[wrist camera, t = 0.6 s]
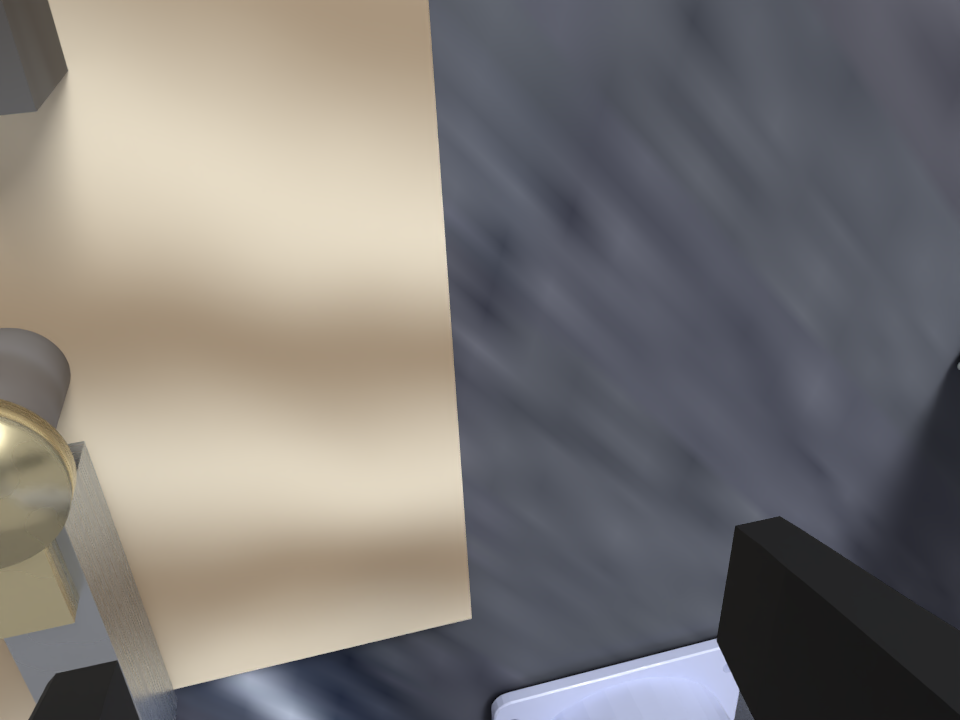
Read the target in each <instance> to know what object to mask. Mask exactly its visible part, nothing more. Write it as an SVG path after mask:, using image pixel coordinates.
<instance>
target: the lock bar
mask: <svg viewBox="0 0 960 720" xmlns="http://www.w3.org/2000/svg"><path fill="white" fill-rule="evenodd" d="M0 639H4V641H5V643H6V645H7V647H8V649H9V651H10V653H11V655H12V657H13V659H14V661H15V663H16V665H17V667H18V669H19V671H20V673H21V675H22V677H23V679H24V681H25V683H26V685H27V687H28V689H29V691H30V693H31V695H32V697H33V699H34V701H35V703H36V704H37V702H38V700H39V699H40V697H41V695H42V693H43V691H44V689H45V687H46V685H47V683H48V682H49V681H50V680H51V679H52V677H53V676H54V675H55V674H56V673H60V672H65V671H69V670H74V669H79V668H83V667H88V666H92V665H97V664H102V663H106V662H111V661H115V660H118V663H119V665H120V668H121V671H122V673H123V676H124V679H125V682H126V684H127V687H128V690H129V692H130V695H131V698H132V700H133V703H134V706H135V708H136V711H137V714H138V716H139V719H140V720H176V711H177V697H176V694H175V692H174V689H173V686H172V683H171V680H170V678H169V675H168V672H167V669H166V667H165V664H164V661H163V658H162V655H161V653H160V650H159V647H158V644H157V641H156V639H155V636H154V633H153V630H152V628H151V625H150V622H149V619H148V616H147V614H146V611H145V608H144V605H143V602H142V600H141V597H140V594H139V591H138V589H137V586H136V583H135V580H134V577H133V575H132V572H131V569H130V566H129V564H128V561H127V558H126V555H125V552H124V550H123V547H122V544H121V541H120V538H119V536H118V533H117V530H116V527H115V525H114V522H113V519H112V516H111V513H110V511H109V508H108V505H107V502H106V499H105V497H104V494H103V491H102V488H101V486H100V483H99V480H98V477H97V474H96V472H95V469H94V466H93V463H92V461H91V458H90V455H89V452H88V449H87V447H86V444H85V441H81V442H76V443H70V444H67V443H66V441H65V440H64V438H63V437H62V436H61V435H60V433H59V432H58V431H57V430H56V429H55V428H54V427H53V426H52V425H51V424H49V423H48V422H47V421H46V420H45V419H43V418H42V417H40V416H39V415H37V414H36V413H34V412H32V411H30V410H28V409H26V408H24V407H22V406H20V405H17V404H15V403H12V402H10V401H7V400H3V399H0Z"/></svg>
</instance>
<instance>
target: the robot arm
mask: <svg viewBox="0 0 960 720" xmlns="http://www.w3.org/2000/svg"><path fill="white" fill-rule="evenodd" d="M739 690H740V692H741V694H742V696H743V698H744V700H745V702H746V704H747V706H748V708H749V710H750V712H751V714H752V716H753V718H754V720H960V631H959V630H958V629H956V628H954V627H953V626H951V625H949V624H948V623H946V622H945V621H943V620H941V619H940V618H938V617H937V616H935V615H933V614H932V613H930V612H929V611H927V610H925V609H924V608H922V607H921V606H919V605H918V604H916V603H914V602H913V601H911V600H910V599H908V598H907V597H905V596H903V595H902V594H900V593H899V592H897V591H896V590H894V589H892V588H891V587H889V586H888V585H886V584H885V583H883V582H882V581H880V580H879V579H877V578H876V577H874V576H872V575H871V574H869V573H868V572H866V571H865V570H863V569H862V568H860V567H859V566H857V565H855V564H854V563H852V562H851V561H849V560H848V559H846V558H845V557H843V556H842V555H840V554H839V553H837V552H836V551H834V550H832V549H831V548H829V547H828V546H826V545H825V544H823V543H822V542H820V541H819V540H817V539H815V538H814V537H812V536H811V535H809V534H808V533H806V532H804V531H803V530H801V529H800V528H798V527H797V526H795V525H793V524H792V523H790V522H788V521H787V520H785V519H783V518H782V517H780V516H779V517H774V518H770V519H765V520H760V521H756V522H751V523H747V524H742V525H737V526H735V531H734V537H733V543H732V550H731V556H730V562H729V568H728V574H727V580H726V586H725V592H724V598H723V604H722V610H721V616H720V622H719V629H718V635H717V638H716V639H712V640H708V641H704V642H701V643H697V644H693V645H689V646H685V647H681V648H677V649H674V650H670V651H666V652H662V653H658V654H654V655H650V656H647V657H643V658H639V659H635V660H631V661H627V662H623V663H619V664H616V665H612V666H608V667H604V668H600V669H596V670H592V671H589V672H585V673H581V674H577V675H573V676H569V677H565V678H561V679H558V680H554V681H550V682H546V683H542V684H538V685H534V686H531V687H527V688H523V689H519V690H515V691H511V692H507V693H505V694H502V695H500V696H499V697H498V698H496V700H495V701H494V702H493V704H492V707H491V712H492V720H734V717H735V712H736V706H737V701H738V695H739ZM28 720H140V719H139V716H138V714H137V711H136V708H135V706H134V703H133V700H132V698H131V695H130V692H129V690H128V687H127V684H126V682H125V679H124V676H123V673H122V671H121V668H120V665H119V663H118V660H115V661H111V662H106V663H102V664H97V665H92V666H88V667H83V668H79V669H74V670H69V671H65V672H60V673H56V674H55V675H54V676H53V677H52V679H51V680H50V681H49V682H48V683H47V685H46V687H45V689H44V691H43V693H42V695H41V697H40V699H39V700H38V702H37V704H36V706H35V708H34V710H33V712H32V714H31V716H30V717H29V719H28Z"/></svg>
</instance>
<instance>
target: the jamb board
mask: <svg viewBox="0 0 960 720" xmlns="http://www.w3.org/2000/svg"><path fill="white" fill-rule="evenodd" d="M0 399H3V400H7V401H10V402H12V403H15V404H17V405H20V406H22V407H24V408H26V409H28V410H30V411H32V412H34V413H36V414H37V415H39V416H40V417H42V418H43V419H45V420H46V421H47V422H48V423H49V424H51V425H52V426H53V427H54V428H55V429H56V430H57V431H58V432H59V433H60V435H61V436H62V437H63V438H64V440H65V441H66V443H67V444H70V443H76V442H81V441H85V444H86V447H87V449H88V452H89V455H90V458H91V461H92V463H93V466H94V469H95V472H96V474H97V477H98V480H99V483H100V486H101V488H102V491H103V494H104V497H105V499H106V502H107V505H108V508H109V511H110V513H111V516H112V519H113V522H114V525H115V527H116V530H117V533H118V536H119V538H120V541H121V544H122V547H123V550H124V552H125V555H126V558H127V561H128V564H129V566H130V569H131V572H132V575H133V577H134V580H135V583H136V586H137V589H138V591H139V594H140V597H141V600H142V602H143V605H144V608H145V611H146V614H147V616H148V619H149V622H150V625H151V628H152V630H153V633H154V636H155V639H156V641H157V644H158V647H159V650H160V653H161V655H162V658H163V661H164V664H165V667H166V669H167V672H168V675H169V678H170V680H171V683H172V686H173V689H178V688H182V687H186V686H190V685H194V684H199V683H203V682H207V681H211V680H215V679H220V678H224V677H228V676H232V675H236V674H241V673H245V672H249V671H253V670H257V669H262V668H266V667H270V666H274V665H278V664H283V663H287V662H291V661H295V660H299V659H304V658H308V657H312V656H316V655H320V654H325V653H329V652H333V651H337V650H341V649H345V648H350V647H354V646H358V645H362V644H366V643H371V642H375V641H379V640H383V639H387V638H392V637H396V636H400V635H404V634H408V633H413V632H417V631H421V630H425V629H429V628H434V627H438V626H442V625H446V624H450V623H455V622H459V621H463V620H467V619H471V618H472V616H471V602H470V587H469V573H468V559H467V544H466V530H465V516H464V502H463V487H462V473H461V459H460V445H459V430H458V416H457V402H456V388H455V373H454V359H453V345H452V331H451V316H450V302H449V288H448V273H447V259H446V245H445V231H444V216H443V202H442V188H441V174H440V159H439V145H438V131H437V117H436V102H435V88H434V74H433V59H432V45H431V31H430V17H429V2H428V0H0ZM35 706H36V703H35V701H34V699H33V697H32V695H31V693H30V691H29V689H28V687H27V685H26V683H25V681H24V679H23V677H22V675H21V673H20V671H19V669H18V667H17V665H16V663H15V661H14V659H13V657H12V655H11V653H10V651H9V649H8V647H7V645H6V643H5V641H4V639H0V720H28V719H29V717H30V716H31V714H32V712H33V710H34V708H35Z"/></svg>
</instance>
